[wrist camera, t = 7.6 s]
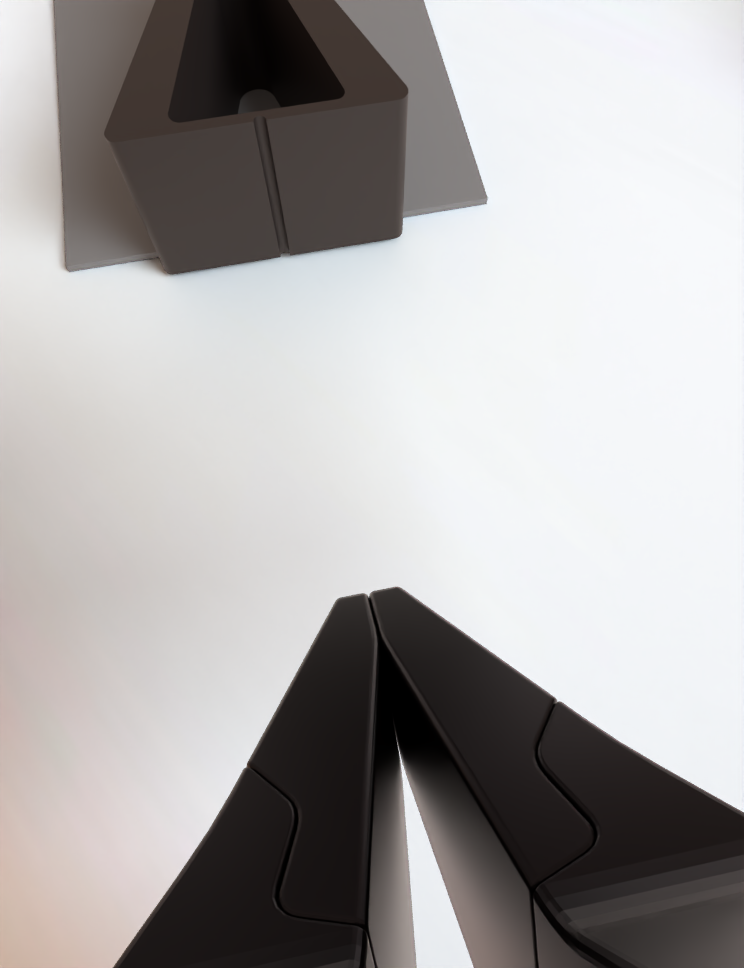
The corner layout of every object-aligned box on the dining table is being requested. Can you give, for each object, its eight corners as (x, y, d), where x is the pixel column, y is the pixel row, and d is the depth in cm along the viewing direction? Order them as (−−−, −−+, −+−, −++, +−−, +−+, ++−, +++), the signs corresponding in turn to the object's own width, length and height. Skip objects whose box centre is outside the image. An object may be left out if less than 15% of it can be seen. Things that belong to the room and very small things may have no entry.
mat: (486, 203, 27) (487, 198, 27) (69, 271, 26) (66, 266, 26) (392, -89, 33) (392, -96, 33) (54, -43, 32) (51, -50, 32)
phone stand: (103, 144, 20) (85, -114, 24) (164, 276, 26) (141, 48, 30) (410, 96, 20) (340, -149, 25) (405, 236, 26) (348, 17, 30)
